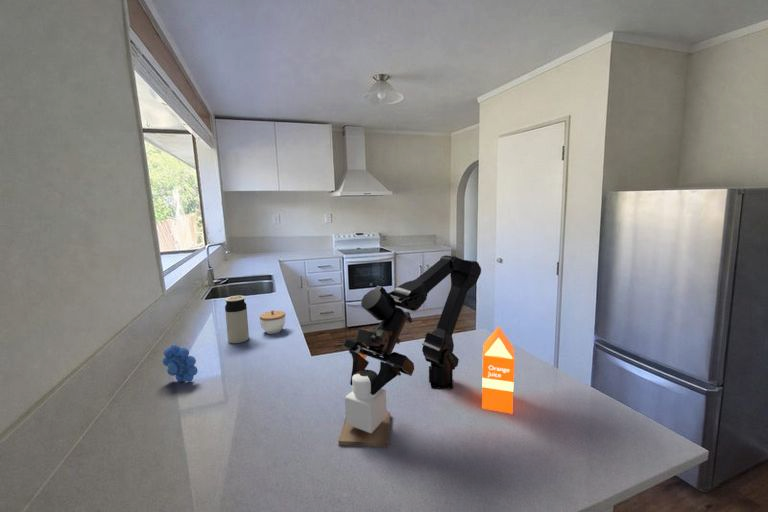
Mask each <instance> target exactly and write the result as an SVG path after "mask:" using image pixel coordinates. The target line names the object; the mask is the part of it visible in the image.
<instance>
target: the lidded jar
mask: <svg viewBox="0 0 768 512" xmlns="http://www.w3.org/2000/svg"><path fill="white" fill-rule="evenodd" d="M259 320H260V327H261V328H262V330H263V331H264V332H266V333H267V334H271V335H272V334H273V335H275V334H278V333H280V332H282V330H283V329H284V327H285V324H286V312H285V311H283V310H269V311H266V312H263V313H261V314H260V315H259Z"/></svg>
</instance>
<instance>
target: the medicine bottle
mask: <svg viewBox="0 0 768 512" xmlns="http://www.w3.org/2000/svg"><path fill="white" fill-rule="evenodd" d="M377 376H378V373H377V372H376V371H375V370H371V369H365V370H360V371H357V372H356V373H354V375H353V376H352V385H351V386H352V390H351V392H349V393H348V394H347V395H346V396H345V397H344V400H345V401H344V402H345V405H344V406H345V418H346V423H347V425H350V426H352V427H355V428H358V429H360V430H363V431H366V432H368V433H372V432H373V431H374V430H375V429H376V428H377V427H378V426H379V424H380V423H381V422H382V421H383V420H384V419H385V418H386V416H387V412H388V411H387V390H386V389H384V388H381V389H380V390H379V391H378V392H377V393H376V394H374V395H372V394H371V393H370V392H371V389H372V387H373V384H374V382H375V380H376V378H377Z"/></svg>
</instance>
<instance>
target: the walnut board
mask: <svg viewBox="0 0 768 512" xmlns="http://www.w3.org/2000/svg"><path fill="white" fill-rule="evenodd" d="M386 412H387V416H386V418H385V419H384V420H383V421H382V422H381V423H380V424H379V426H378V427H377V428H376V429H375V430H374V431H373V432H372V433H368V432H366V431H363V430H360V429H358V428H355V427H352V426H350V425H347V423H346V417H345V419H344V421H343V425H342V428H341V431H340V434H339V437H338V446H357V447H358V446H359V447H385V448H386V447H389V446H388V445H389V436H390V435H389V434H390V424H391V411H386Z"/></svg>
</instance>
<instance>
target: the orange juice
mask: <svg viewBox="0 0 768 512" xmlns="http://www.w3.org/2000/svg"><path fill="white" fill-rule="evenodd" d="M482 347H483V348H482V349H483V350H482V364H481V365H482V379H481V380H482V381H481V384H482V385H481V386H482V388H481V391H482V392H481V393H482V394H481V396H482V397H481V409H484V410H490V411H496V412H501V413H507V414H514V413H513V406H514V387H515V382H514V381H515V380H514V379H515V352H514V351H515V350H514V345H512V343H511V341H509V339H508V337H507V336H506V333H504V332H503V330H502V328H500V326H499V325H498V326H497V327H496V328H495V330H494V331H493V332H492V333H491V334H490V336H488V338H487V339H486V340H485V342H483V346H482Z"/></svg>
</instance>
